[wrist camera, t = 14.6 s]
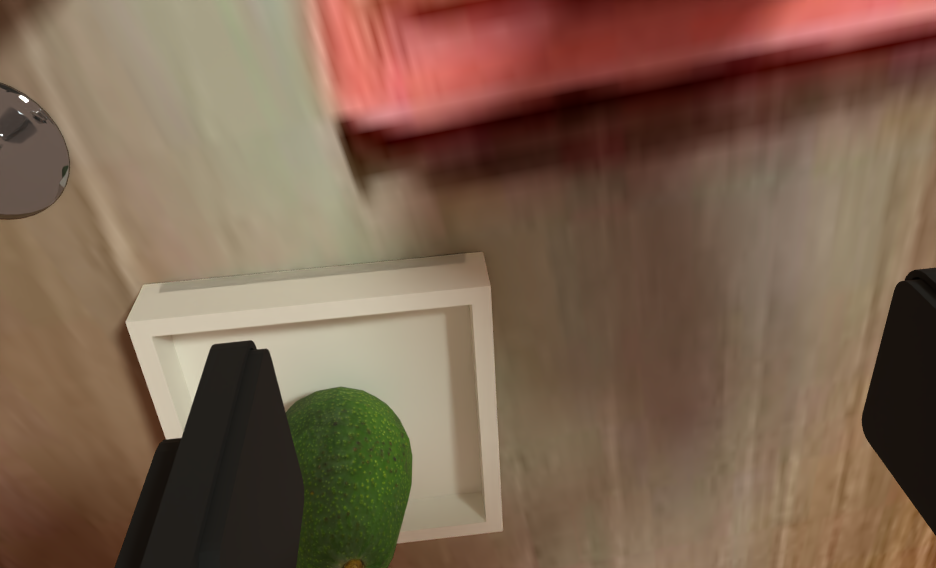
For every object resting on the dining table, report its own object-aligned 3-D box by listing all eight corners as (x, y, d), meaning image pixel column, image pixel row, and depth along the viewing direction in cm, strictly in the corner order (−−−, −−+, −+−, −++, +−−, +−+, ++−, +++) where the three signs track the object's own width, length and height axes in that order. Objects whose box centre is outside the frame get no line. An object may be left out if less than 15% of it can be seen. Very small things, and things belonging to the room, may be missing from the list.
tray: (483, 251, 43) (490, 285, 40) (496, 489, 52) (503, 531, 49) (143, 284, 42) (125, 322, 39) (219, 520, 52) (209, 565, 49)
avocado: (410, 455, 49) (418, 630, 39) (279, 460, 48) (252, 640, 38) (409, 349, 45) (418, 514, 34) (266, 353, 44) (232, 523, 34)
